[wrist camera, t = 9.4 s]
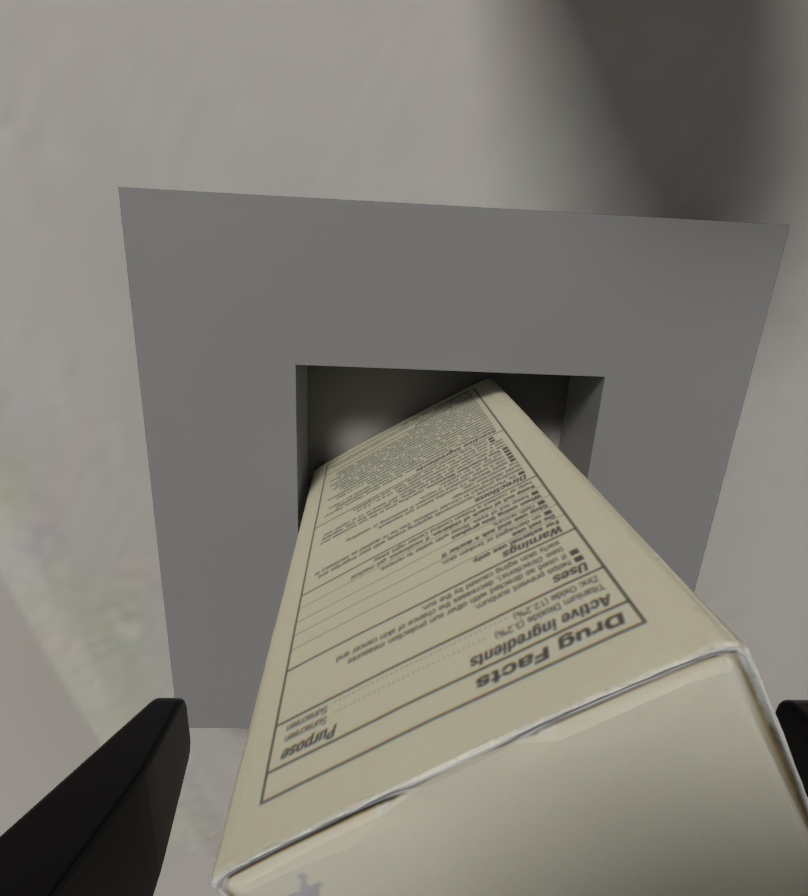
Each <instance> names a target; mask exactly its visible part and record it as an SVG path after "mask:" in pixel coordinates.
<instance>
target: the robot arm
mask: <svg viewBox="0 0 808 896" xmlns="http://www.w3.org/2000/svg"><path fill="white" fill-rule="evenodd" d="M776 716H777V718H778V721H779V723H780V725H781V728H782V730H783V733H784V735H785V738H786V741H787V744H788V747H789V749H790V752H791V755H792V758H793V761H794V764H795V766H796V769H797V771H798V774H799V776H800V779H801V781H802V784H803V787H804V789H805V792H806V795H807V797H808V700H785V701H782V702H781V703H780V704H779V705H778V707H777V710H776ZM189 753H190V733H189V723H188V714H187V706H186V703H185V700H183V699H181V698H157V699H155V700H153V701H152V702H150V703H149V704H148V705H147V706H146V707H145V708H144V709H142V710H141V711H140V712H139V713H138V714H137V715H136V716H135V717H134V718H132V719H131V720H130V721H129V722H128V723H127V724H126V725H125V726H123V727H122V728H121V729H120V730H119V731H118V732H117V733H116V734H115V735H113V736H112V737H111V738H110V739H109V740H108V741H107V742H106V743H104V744H103V745H102V746H101V747H100V748H99V749H98V750H97V751H96V752H94V753H93V754H92V755H91V756H90V757H89V758H88V759H87V760H85V761H84V762H83V763H82V764H81V765H80V766H79V767H78V768H77V769H75V770H74V771H73V772H72V773H71V774H70V775H69V776H68V777H66V778H65V779H64V780H63V781H62V782H61V783H60V784H59V785H57V786H56V787H55V788H54V789H53V790H52V791H51V792H50V793H49V794H48V795H46V796H45V797H44V798H43V799H42V800H41V801H40V802H39V803H37V804H36V805H35V806H34V807H33V808H32V809H31V810H30V811H29V812H27V813H26V814H25V815H24V816H23V817H22V818H21V819H19V820H18V821H17V822H16V823H15V824H14V825H13V826H12V827H11V828H9V829H8V830H7V831H6V832H5V833H4V834H3V835H2V836H0V896H153V894H154V891H155V887H156V885H157V881H158V878H159V875H160V872H161V868H162V864H163V860H164V856H165V853H166V848H167V844H168V840H169V836H170V832H171V828H172V824H173V820H174V816H175V812H176V808H177V804H178V800H179V796H180V792H181V787H182V783H183V779H184V775H185V771H186V767H187V763H188V759H189Z"/></svg>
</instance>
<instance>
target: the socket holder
mask: <svg viewBox="0 0 808 896" xmlns="http://www.w3.org/2000/svg"><path fill="white" fill-rule="evenodd" d="M118 189H119V198H120V207H121V216H122V225H123V234H124V243H125V252H126V261H127V271H128V280H129V289H130V298H131V307H132V316H133V325H134V334H135V343H136V352H137V361H138V370H139V379H140V388H141V397H142V406H143V415H144V424H145V433H146V442H147V451H148V460H149V469H150V478H151V487H152V497H153V506H154V515H155V524H156V533H157V542H158V551H159V560H160V569H161V578H162V587H163V596H164V605H165V614H166V623H167V632H168V641H169V650H170V659H171V668H172V677H173V686H174V695H175V698H181V699H183V700H185V703H186V706H187V714H188V723H189V728H250V724H251V720H252V716H253V712H254V707H255V703H256V699H257V695H258V691H259V686H260V683H261V679H262V676H263V672H264V668H265V663H266V658H267V655H268V651H269V647H270V643H271V639H272V634H273V631H274V628H275V624H276V620H277V616H278V612H279V608H280V604H281V600H282V597H283V593H284V588H285V584H286V580H287V576H288V572H289V568H290V564H291V560H292V556H293V552H294V549H295V545H296V541H297V536H298V533H299V530H300V525H301V521H302V517H303V513H304V509H305V505H306V501H307V497H308V395H307V365H316V366H342V367H368V368H393V369H419V370H445V371H470V372H496V373H522V374H547V375H570V379H569V385H568V392H567V398H566V405H565V412H564V418H563V425H562V431H561V438H560V445H559V450H560V451H561V452H562V453H563V454H564V455H565V456H566V457H567V459H568V460H569V461H570V462H571V463H572V464H573V465H574V466H575V467H576V468H577V469H578V470H579V471H580V472H581V473H582V474H583V475H584V476H585V477H586V478H587V479H588V480H589V481H590V482H591V483H592V484H593V486H594V487H595V488H596V489H597V490H598V491H599V492H600V493H601V494H602V495H603V496H604V497H605V499H606V500H607V501H608V502H609V503H610V504H611V505H612V506H613V507H614V508H615V509H616V510H617V512H618V513H619V514H620V515H621V516H622V517H623V518H624V519H625V520H626V521H627V522H628V523H629V524H630V525H631V526H632V528H633V529H634V530H635V531H636V532H637V533H638V534H639V535H640V536H641V537H642V538H643V539H644V540H645V541H646V542H647V543H648V544H649V545H650V546H651V547H652V549H653V550H654V551H655V552H656V553H657V554H658V555H659V556H660V557H661V558H662V559H663V560H664V561H665V562H666V563H667V564H668V566H669V567H670V568H671V569H672V570H673V571H674V572H675V573H676V574H677V575H678V576H679V577H680V578H681V579H682V580H683V581H684V582H685V583H686V584H687V585H688V586H689V587H690V588H691V589H692V591H693V592H694V590H695V586H696V582H697V579H698V575H699V571H700V567H701V563H702V559H703V556H704V552H705V548H706V544H707V540H708V536H709V533H710V529H711V525H712V521H713V517H714V514H715V510H716V506H717V502H718V498H719V494H720V491H721V487H722V483H723V479H724V475H725V471H726V468H727V464H728V460H729V456H730V452H731V448H732V445H733V441H734V437H735V433H736V429H737V425H738V422H739V418H740V414H741V410H742V406H743V403H744V399H745V395H746V391H747V387H748V383H749V380H750V376H751V372H752V368H753V364H754V360H755V357H756V353H757V349H758V345H759V341H760V337H761V334H762V330H763V326H764V322H765V318H766V314H767V311H768V307H769V303H770V299H771V295H772V292H773V288H774V284H775V280H776V276H777V272H778V269H779V265H780V261H781V257H782V253H783V249H784V246H785V242H786V238H787V234H788V230H789V226H790V225H784V224H766V223H748V222H730V221H712V220H695V219H677V218H659V217H641V216H623V215H606V214H588V213H570V212H552V211H534V210H517V209H499V208H481V207H463V206H446V205H428V204H410V203H392V202H374V201H357V200H339V199H321V198H303V197H285V196H268V195H250V194H232V193H214V192H196V191H179V190H161V189H143V188H125V187H118Z"/></svg>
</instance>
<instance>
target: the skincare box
mask: <svg viewBox="0 0 808 896" xmlns="http://www.w3.org/2000/svg"><path fill="white" fill-rule="evenodd" d="M210 884H211V886H212V888H214V889H215V890H216V891H217V892H218V893H219V894H221V895H222V896H808V797H807V795H806V792H805V789H804V787H803V784H802V781H801V779H800V776H799V774H798V771H797V769H796V766H795V764H794V761H793V758H792V755H791V752H790V749H789V747H788V744H787V741H786V738H785V735H784V733H783V730H782V728H781V725H780V723H779V721H778V718H777V716H776V713H775V711H774V709H773V706H772V704H771V701H770V699H769V697H768V694H767V692H766V689H765V687H764V684H763V682H762V679H761V677H760V674H759V672H758V669H757V667H756V664H755V662H754V660H753V657H752V655H751V653H750V651H749V650H748V648H747V647H746V646H745V645H744V644H743V642H742V641H741V640H740V639H739V638H738V637H737V636H736V635H735V634H734V633H733V632H732V631H731V630H730V629H729V628H728V627H727V626H726V625H725V624H724V623H723V622H722V621H721V620H720V619H719V618H718V617H717V616H716V615H715V614H714V613H713V612H712V611H711V610H710V609H709V608H708V607H707V606H706V605H705V604H704V602H703V601H702V600H701V599H700V598H699V597H698V596H697V595H696V594H695V593H694V592H693V591H692V589H691V588H690V587H689V586H688V585H687V584H686V583H685V582H684V581H683V580H682V579H681V578H680V577H679V576H678V575H677V574H676V573H675V572H674V571H673V570H672V569H671V568H670V567H669V566H668V564H667V563H666V562H665V561H664V560H663V559H662V558H661V557H660V556H659V555H658V554H657V553H656V552H655V551H654V550H653V549H652V547H651V546H650V545H649V544H648V543H647V542H646V541H645V540H644V539H643V538H642V537H641V536H640V535H639V534H638V533H637V532H636V531H635V530H634V529H633V528H632V526H631V525H630V524H629V523H628V522H627V521H626V520H625V519H624V518H623V517H622V516H621V515H620V514H619V513H618V512H617V510H616V509H615V508H614V507H613V506H612V505H611V504H610V503H609V502H608V501H607V500H606V499H605V497H604V496H603V495H602V494H601V493H600V492H599V491H598V490H597V489H596V488H595V487H594V486H593V484H592V483H591V482H590V481H589V480H588V479H587V478H586V477H585V476H584V475H583V474H582V473H581V472H580V471H579V470H578V469H577V468H576V467H575V466H574V465H573V464H572V463H571V462H570V461H569V460H568V459H567V457H566V456H565V455H564V454H563V453H562V452H561V451H560V450H559V449H558V448H557V447H556V446H555V444H554V443H553V442H552V441H551V440H550V439H549V438H548V437H547V436H546V435H545V434H544V433H543V432H542V431H541V430H540V429H539V428H538V427H537V426H536V425H535V424H534V422H533V421H532V420H531V419H530V418H529V417H528V416H527V415H526V414H525V413H524V411H523V410H522V409H521V408H520V407H519V406H518V405H517V404H516V403H515V402H514V401H513V400H512V399H511V398H510V397H509V396H508V395H507V394H506V393H505V391H504V390H503V389H502V388H501V387H500V386H499V385H498V384H497V383H496V382H495V381H494V380H493V379H484V380H482V381H480V382H478V383H476V384H474V385H472V386H470V387H468V388H466V389H464V390H462V391H460V392H458V393H456V394H454V395H452V396H450V397H448V398H446V399H444V400H442V401H440V402H438V403H436V404H434V405H432V406H430V407H428V408H427V409H425V410H423V411H421V412H419V413H417V414H415V415H413V416H411V417H409V418H407V419H405V420H404V421H402V422H400V423H398V424H396V425H394V426H392V427H391V428H389V429H387V430H385V431H383V432H381V433H379V434H377V435H375V436H374V437H372V438H370V439H368V440H366V441H364V442H363V443H361V444H359V445H357V446H355V447H353V448H351V449H350V450H348V451H346V452H344V453H343V454H341V455H339V456H337V457H336V458H334V459H332V460H330V461H329V462H327V463H325V464H323V465H321V466H320V467H318V468H317V469H316V470H315V471H314V473H313V477H312V481H311V485H310V489H309V493H308V497H307V501H306V505H305V509H304V513H303V517H302V521H301V525H300V530H299V533H298V536H297V541H296V545H295V549H294V552H293V556H292V560H291V564H290V568H289V572H288V576H287V580H286V584H285V588H284V593H283V597H282V600H281V604H280V608H279V612H278V616H277V620H276V624H275V628H274V631H273V634H272V639H271V643H270V647H269V651H268V655H267V658H266V663H265V668H264V672H263V676H262V679H261V683H260V686H259V691H258V695H257V699H256V703H255V707H254V712H253V716H252V720H251V724H250V728H249V732H248V735H247V739H246V743H245V747H244V751H243V755H242V759H241V762H240V766H239V770H238V774H237V777H236V781H235V785H234V789H233V793H232V796H231V800H230V804H229V808H228V812H227V816H226V820H225V824H224V828H223V832H222V837H221V841H220V845H219V849H218V853H217V857H216V861H215V864H214V869H213V873H212V877H211V883H210Z"/></svg>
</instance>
